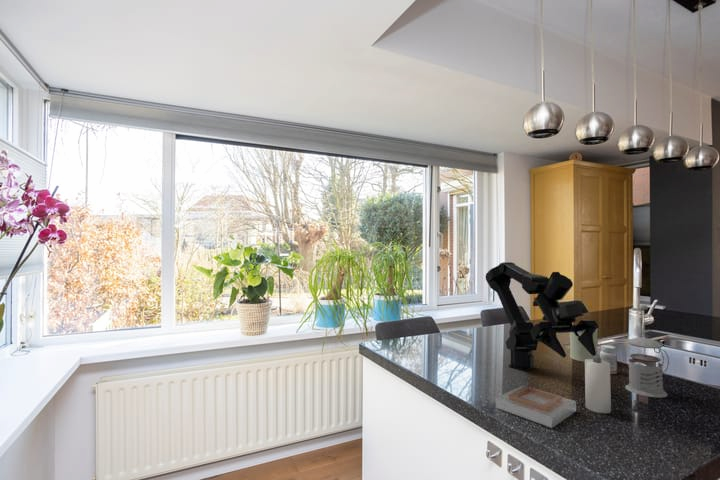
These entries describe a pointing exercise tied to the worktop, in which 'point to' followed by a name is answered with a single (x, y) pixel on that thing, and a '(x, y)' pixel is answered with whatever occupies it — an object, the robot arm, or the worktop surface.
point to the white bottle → (597, 385)
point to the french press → (646, 368)
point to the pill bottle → (609, 357)
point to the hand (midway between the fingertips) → (579, 355)
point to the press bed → (536, 405)
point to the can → (581, 348)
